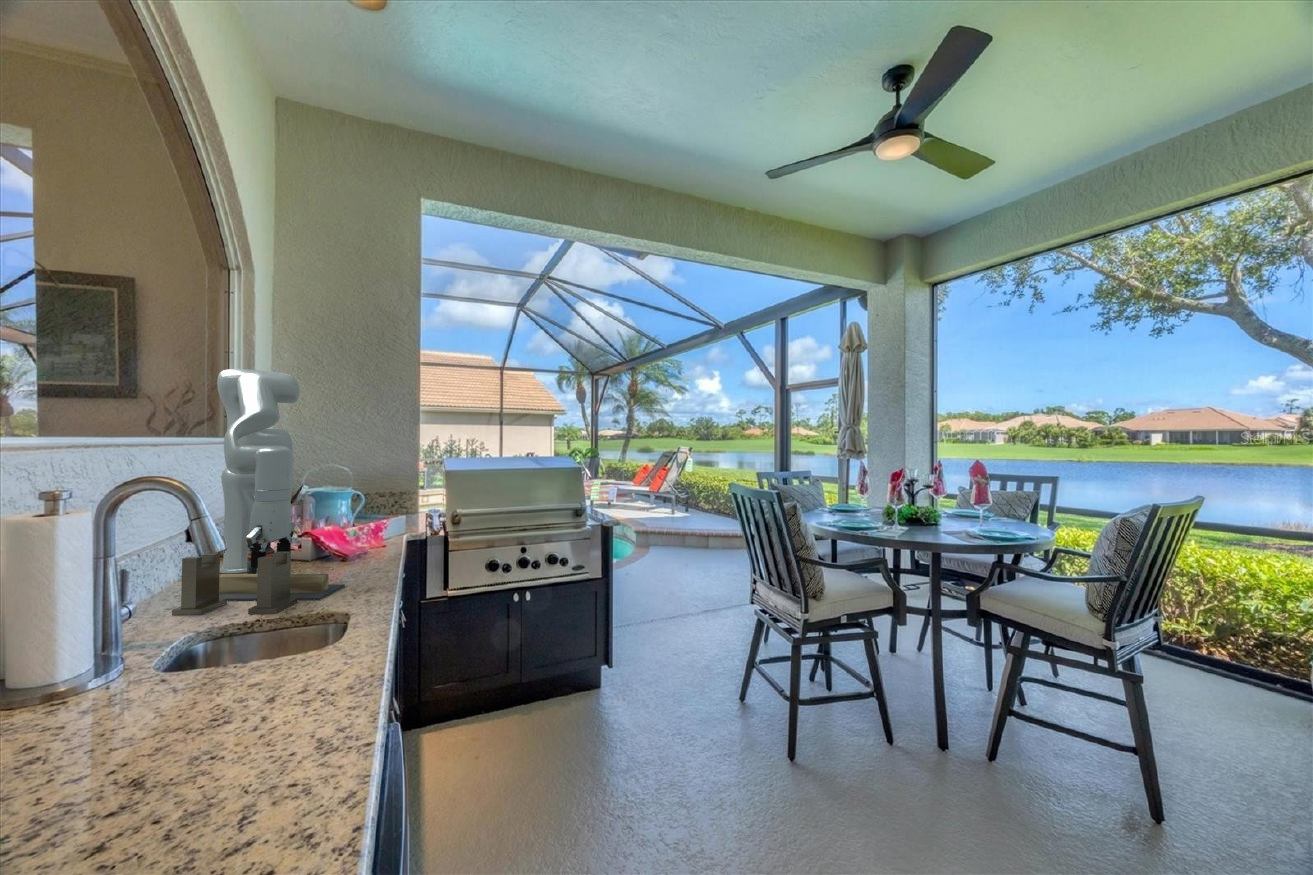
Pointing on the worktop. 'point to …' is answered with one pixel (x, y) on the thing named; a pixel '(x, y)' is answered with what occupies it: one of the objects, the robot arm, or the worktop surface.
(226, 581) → the rail
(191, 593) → the rail stands
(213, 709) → the worktop surface
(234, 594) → the mat
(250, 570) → the supplement bottle
